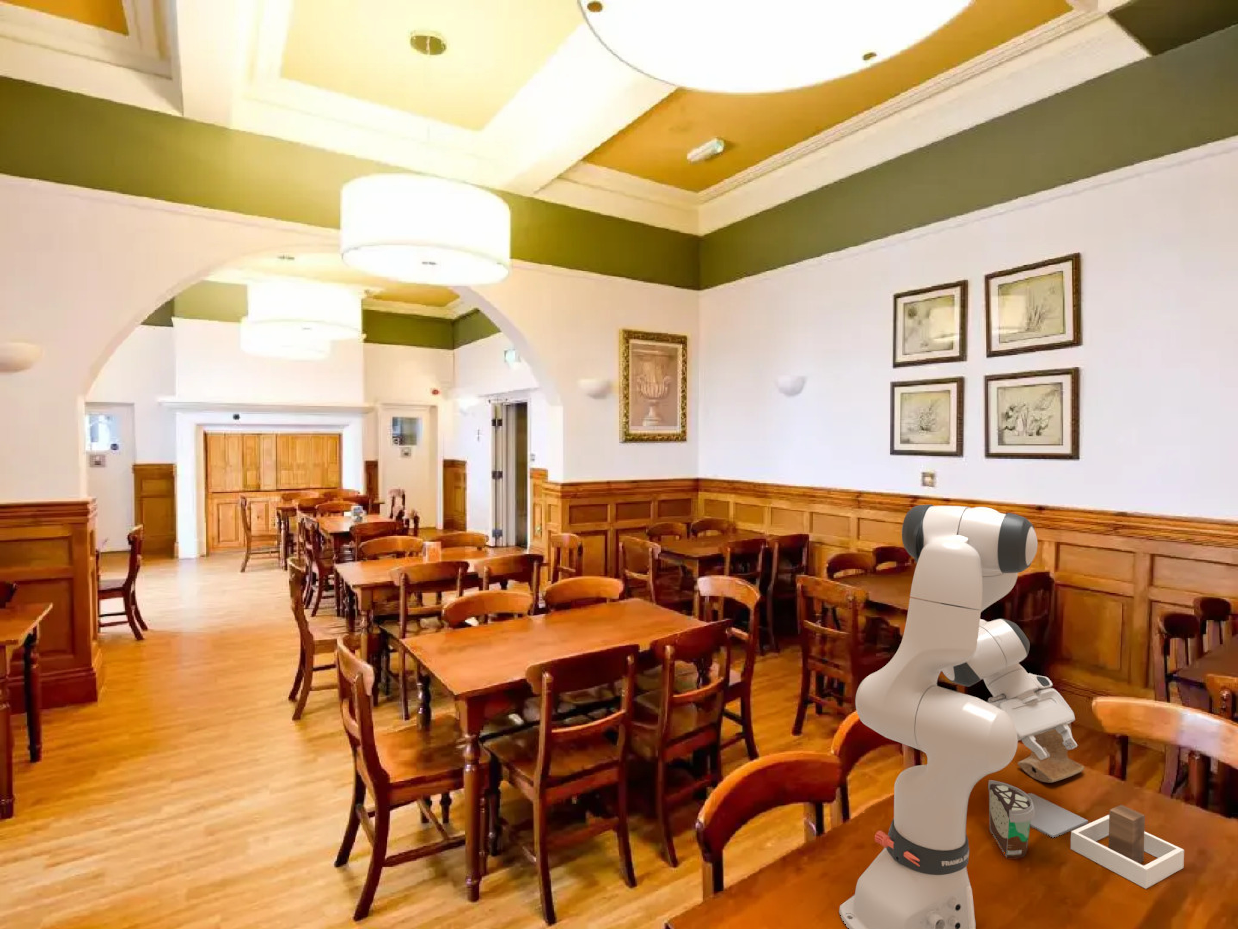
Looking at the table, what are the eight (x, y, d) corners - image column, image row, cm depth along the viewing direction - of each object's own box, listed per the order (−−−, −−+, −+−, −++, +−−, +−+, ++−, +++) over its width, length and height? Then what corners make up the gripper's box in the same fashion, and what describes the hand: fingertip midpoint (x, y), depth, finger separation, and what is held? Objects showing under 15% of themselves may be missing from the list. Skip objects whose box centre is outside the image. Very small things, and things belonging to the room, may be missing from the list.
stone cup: (1041, 753, 169) (1042, 695, 168) (1091, 775, 158) (1093, 713, 157) (1002, 767, 162) (1003, 706, 162) (1052, 790, 152) (1053, 726, 151)
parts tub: (1145, 888, 119) (1146, 869, 118) (1070, 849, 130) (1071, 831, 130) (1183, 868, 124) (1184, 849, 124) (1108, 831, 136) (1108, 814, 136)
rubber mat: (1053, 838, 133) (1053, 836, 133) (996, 808, 144) (996, 806, 144) (1088, 822, 139) (1088, 820, 139) (1030, 795, 150) (1030, 792, 150)
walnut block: (1131, 867, 124) (1133, 820, 124) (1108, 855, 128) (1109, 810, 128) (1143, 861, 126) (1144, 815, 126) (1120, 849, 130) (1121, 804, 129)
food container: (1045, 867, 125) (1046, 815, 124) (1009, 863, 126) (1010, 811, 125) (1019, 829, 137) (1020, 781, 136) (987, 825, 138) (988, 778, 138)
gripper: (993, 692, 139) (1039, 758, 131) (1053, 676, 148) (1099, 737, 140) (973, 705, 144) (1017, 770, 135) (1032, 689, 153) (1076, 749, 144)
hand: (1059, 753), depth 138 cm, fingers open, 8 cm apart
